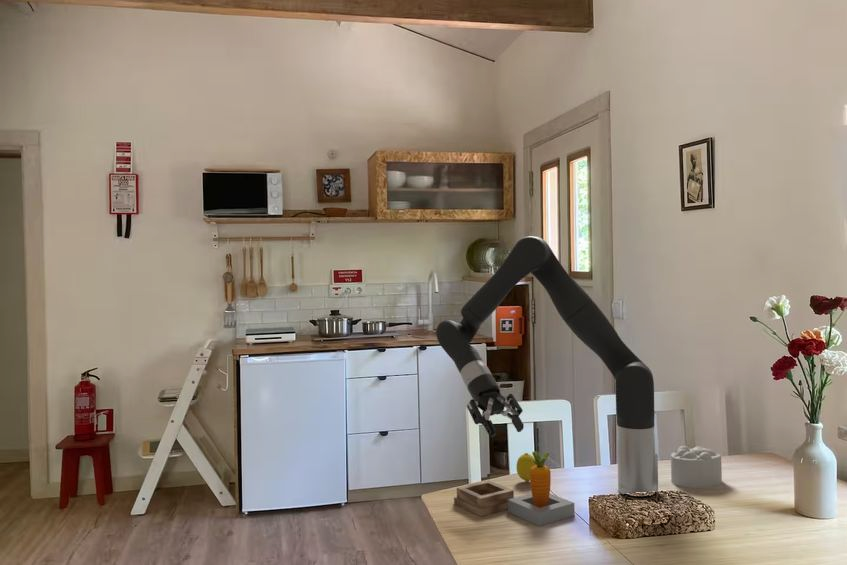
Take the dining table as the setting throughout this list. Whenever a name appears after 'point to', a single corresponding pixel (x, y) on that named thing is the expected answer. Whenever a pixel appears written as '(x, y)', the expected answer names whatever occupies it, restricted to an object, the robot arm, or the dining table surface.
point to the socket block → (541, 509)
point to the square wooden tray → (483, 497)
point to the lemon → (525, 466)
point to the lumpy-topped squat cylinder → (695, 467)
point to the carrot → (540, 480)
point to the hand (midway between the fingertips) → (508, 432)
